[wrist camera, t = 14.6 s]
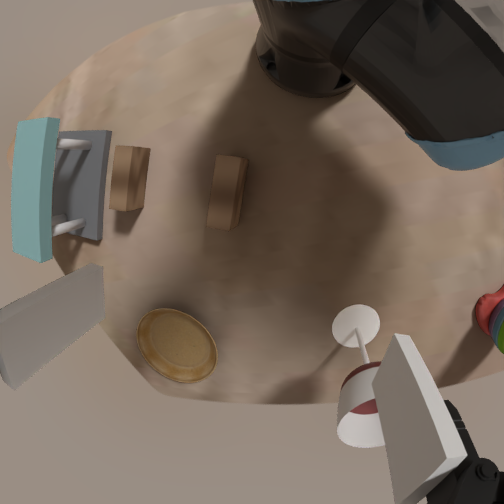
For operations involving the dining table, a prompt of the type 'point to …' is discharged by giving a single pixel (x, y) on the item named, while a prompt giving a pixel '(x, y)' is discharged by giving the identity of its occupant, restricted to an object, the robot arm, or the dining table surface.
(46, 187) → the shelf board
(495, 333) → the stacking bear
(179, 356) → the plant saucer
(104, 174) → the peg stand
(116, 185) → the blocks
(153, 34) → the dining table surface
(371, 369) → the wineglass
